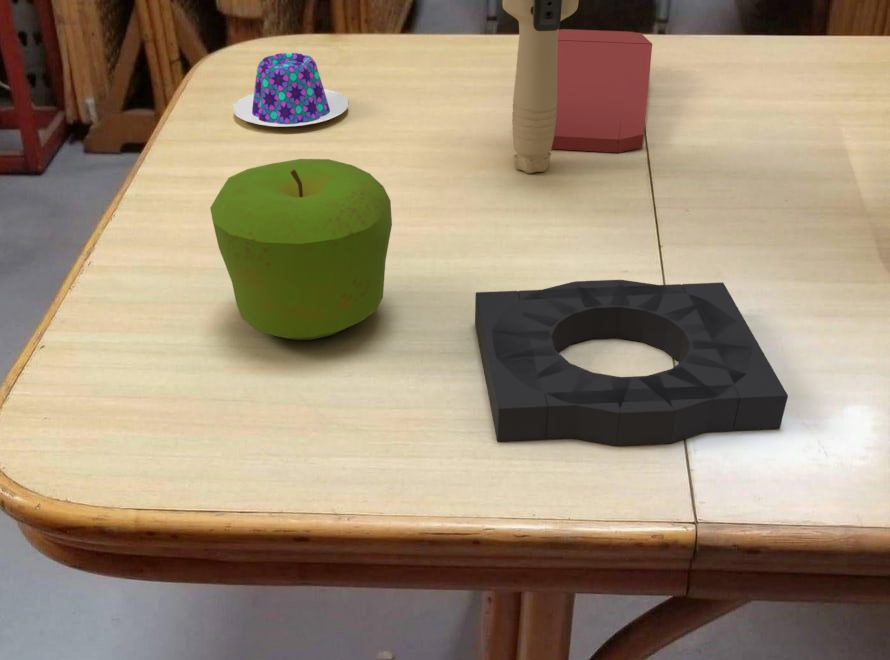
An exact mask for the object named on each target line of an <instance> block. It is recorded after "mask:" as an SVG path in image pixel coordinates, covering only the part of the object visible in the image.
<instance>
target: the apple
mask: <svg viewBox="0 0 890 660" xmlns="http://www.w3.org/2000/svg"><path fill="white" fill-rule="evenodd" d="M209 209H210V215H211V220H212V224H213V228H214V234H215V237H216V241H217V246H218V250H219V252H220V254H221V257H222V260H223V262H224V265H225V268H226V271H227V273H228V275H229V278H230V281H231V284H232V289H233V294H234V297H235V303H236V307H237V309H238V311H239V314H240V316H241V319H243V320H244V321H245V322H246V323H247V324H248V325H250V326H252V328H254V329H255V330H256V331H259V332H262V333H266V334H268V335H271V336H274V337H277V338H282V339H286V340H287V339H288V340H294V341H295V340H296V341H302V340H305V341H307V340H309V341H310V340H317V339H322V338H327V337H330V336H332V335H335V334H337V333H339V332H341V331H343V330H346V329H348V328H350V327H352V326H354V325H357V324H358V323H362V321H364V320H366V319H367V318H368V317H370V316H371V315H372V314H373V313H375V312H376V311H377V310H378V308H379V307H380V304H381V303H382V301H383V298H384V287H385V274H386V272H385V271H386V261H387V256H388V255H387V254H388V251H389V250H388V249H389V243H390V239H391V238H390V237H391V233H392V226H393V222H392V221H393V219H392V203H391V198H390V196H389V195H388V193H387V190H386V188H385V187H384V186H383V184H381V182H379V181H378V180H377V179H376V177H374V176H373V175H372V174H371V173H370V172H368V171H365V170H364V169H361V168H359V167H358V166H355V165H353V164H350V163H345V162H341V161H337V160H333V159H329V158H328V159H327V158H298V159H292V160H286V161H285V160H284V161H279V162H273V163H268V164H264V165H259V166H256V167H251V168H247V169H244V170H242V171H240V172H238V173H236V174H234V175H231V176H230V177H228V178H227V179H226V181H225V182H224V184H223V186H222V187H221V189H220V191H219V192H218V194H217V196H216V197H215V199H214V200H213V203H212V204H211V205H210V207H209Z"/></svg>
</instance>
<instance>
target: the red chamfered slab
mask: <svg viewBox="0 0 890 660" xmlns="http://www.w3.org/2000/svg"><path fill="white" fill-rule="evenodd" d="M652 51H653V43H652V42H651V41H650V40H649V38H647V37H646V36H645V35H644V34H643V33H641V32H635V31H623V30H622V31H621V30H593V29H572V28H571V29H569V28H560V29H559V31H558V59H557V117H556V126H555V133H554V139H553V144H552V148H551V150H565V151H580V152H583V151H584V152H598V153H599V152H600V153H601V152H602V153H618V154H619V153H623V152H627V151H632V150H636V149H641V148H643V147H644V138H645V131H646V130H645V129H646V119H647V118H646V117H647V106H648V96H649V86H650V85H649V84H650V76H651V75H650V74H651V64H652V63H651V62H652V54H653V53H652Z"/></svg>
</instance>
